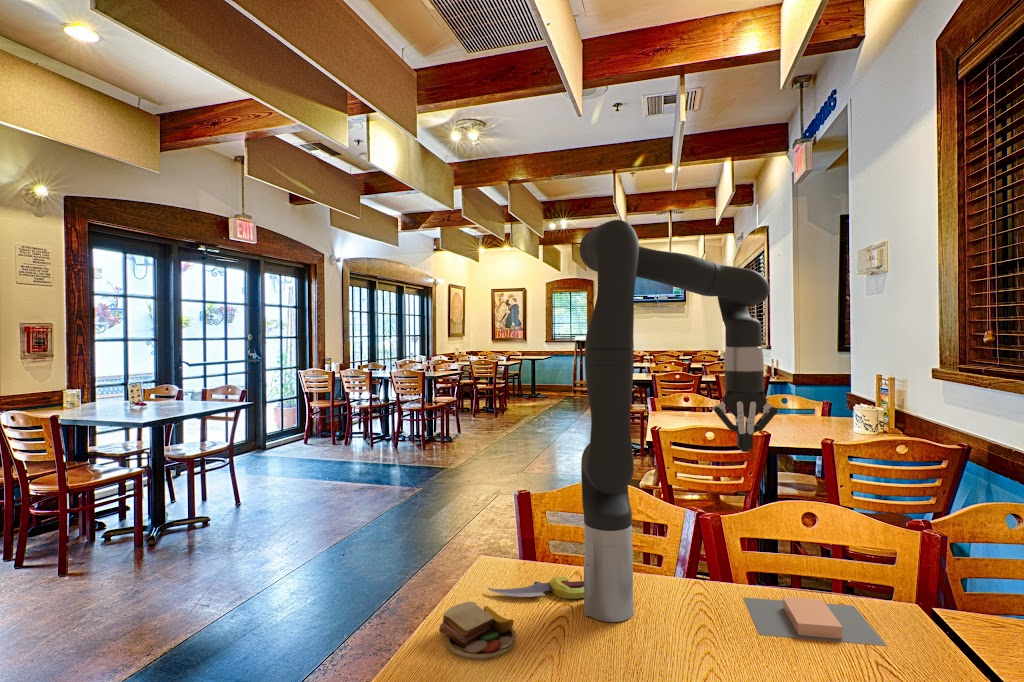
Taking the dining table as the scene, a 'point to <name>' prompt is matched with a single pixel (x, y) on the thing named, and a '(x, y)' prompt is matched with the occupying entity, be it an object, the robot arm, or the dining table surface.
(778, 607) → the mat
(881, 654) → the dining table surface
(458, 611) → the toy sandwich meal
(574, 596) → the knife
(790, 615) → the tile
